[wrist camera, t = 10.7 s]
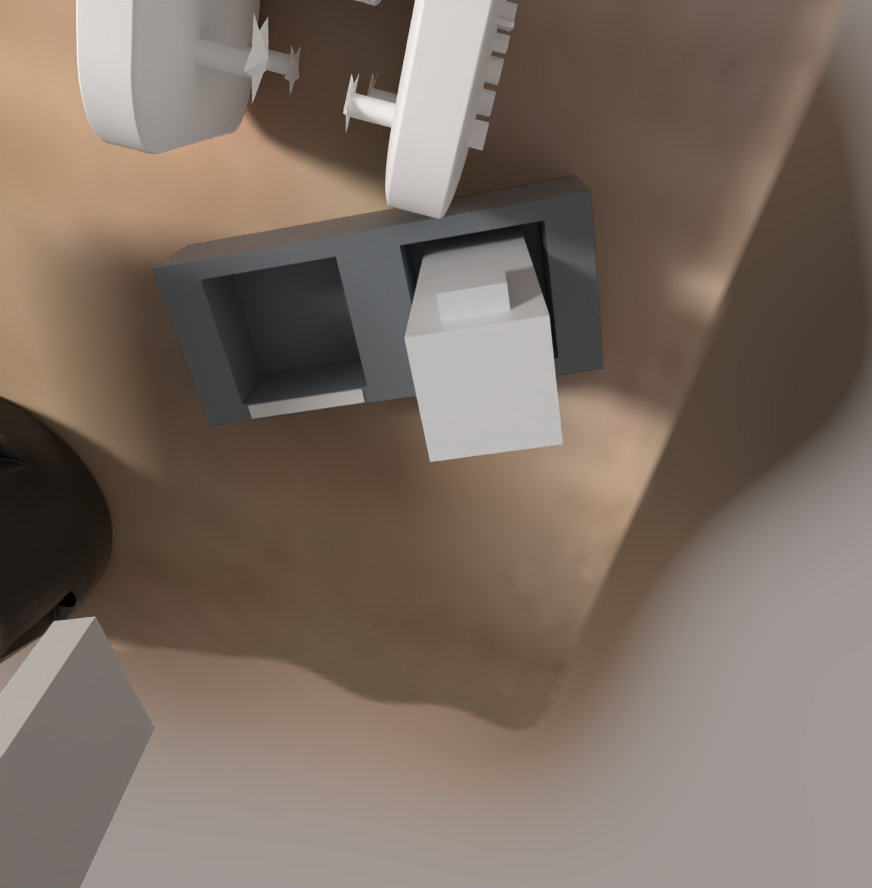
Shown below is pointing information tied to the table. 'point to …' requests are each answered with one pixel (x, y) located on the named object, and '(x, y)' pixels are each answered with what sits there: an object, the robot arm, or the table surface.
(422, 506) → the table surface
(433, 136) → the cable organizer
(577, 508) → the table surface
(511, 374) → the plug
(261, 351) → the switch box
